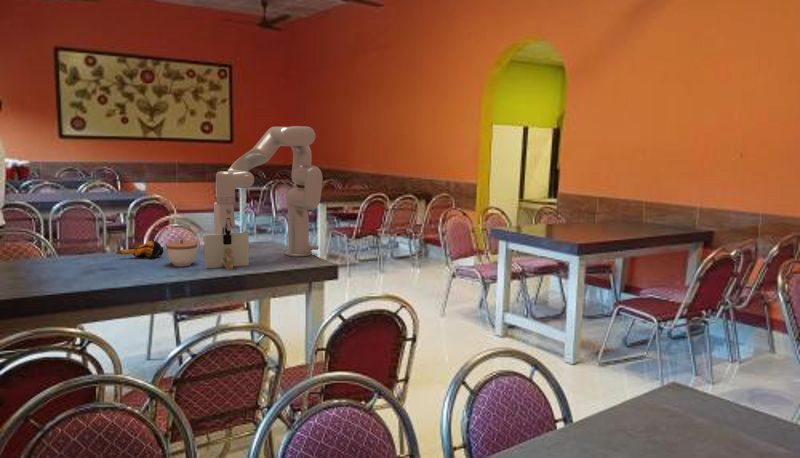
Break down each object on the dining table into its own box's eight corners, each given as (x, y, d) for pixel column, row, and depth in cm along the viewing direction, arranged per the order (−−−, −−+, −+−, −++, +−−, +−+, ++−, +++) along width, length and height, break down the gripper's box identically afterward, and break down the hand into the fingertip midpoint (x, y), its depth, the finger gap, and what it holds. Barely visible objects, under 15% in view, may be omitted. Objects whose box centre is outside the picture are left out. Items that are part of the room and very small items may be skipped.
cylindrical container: (233, 256, 283) (232, 202, 279) (227, 259, 276) (226, 204, 272) (218, 255, 284) (217, 201, 280) (212, 258, 277) (211, 203, 273)
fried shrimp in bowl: (167, 248, 273) (126, 239, 262) (158, 268, 276) (117, 260, 265) (164, 238, 280) (124, 228, 269) (154, 257, 283) (114, 249, 272)
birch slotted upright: (226, 262, 269) (225, 244, 268) (233, 269, 256) (232, 250, 255) (221, 262, 268) (221, 244, 267) (228, 270, 255) (227, 251, 254)
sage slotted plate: (247, 264, 267) (247, 232, 265) (248, 265, 265) (248, 233, 263) (205, 267, 259) (204, 234, 257) (205, 268, 257) (205, 235, 255)
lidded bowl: (187, 268, 256) (187, 242, 254) (160, 266, 258) (159, 241, 256) (203, 262, 268) (202, 237, 266) (177, 260, 270) (176, 236, 269)
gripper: (238, 202, 252) (239, 246, 255) (231, 198, 267) (231, 240, 269) (220, 203, 249) (221, 247, 252) (213, 198, 263) (214, 241, 266)
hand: (226, 243), depth 261 cm, fingers open, 2 cm apart
